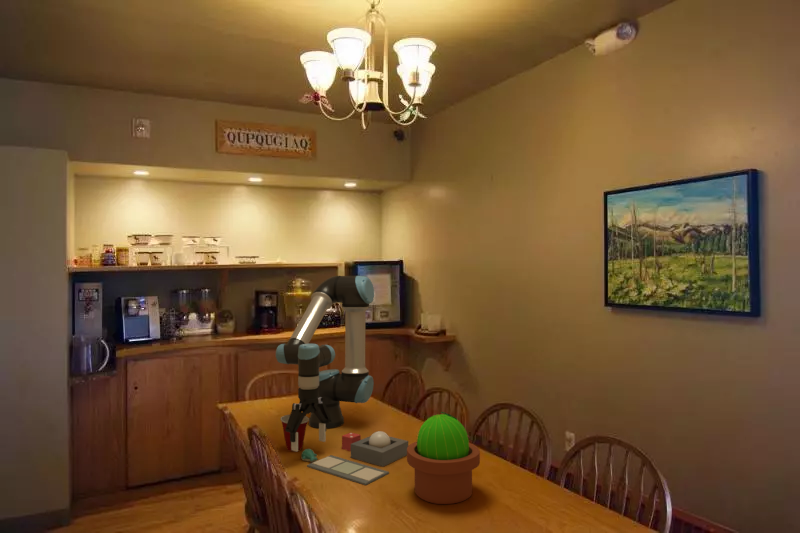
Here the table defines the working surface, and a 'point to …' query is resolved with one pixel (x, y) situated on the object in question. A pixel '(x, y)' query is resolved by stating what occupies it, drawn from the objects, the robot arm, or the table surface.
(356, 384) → the robot arm
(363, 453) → the dome collar
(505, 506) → the table surface
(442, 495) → the potted cactus
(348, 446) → the red die
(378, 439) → the white ball
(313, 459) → the turtle figurine
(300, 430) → the plastic cup
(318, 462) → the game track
